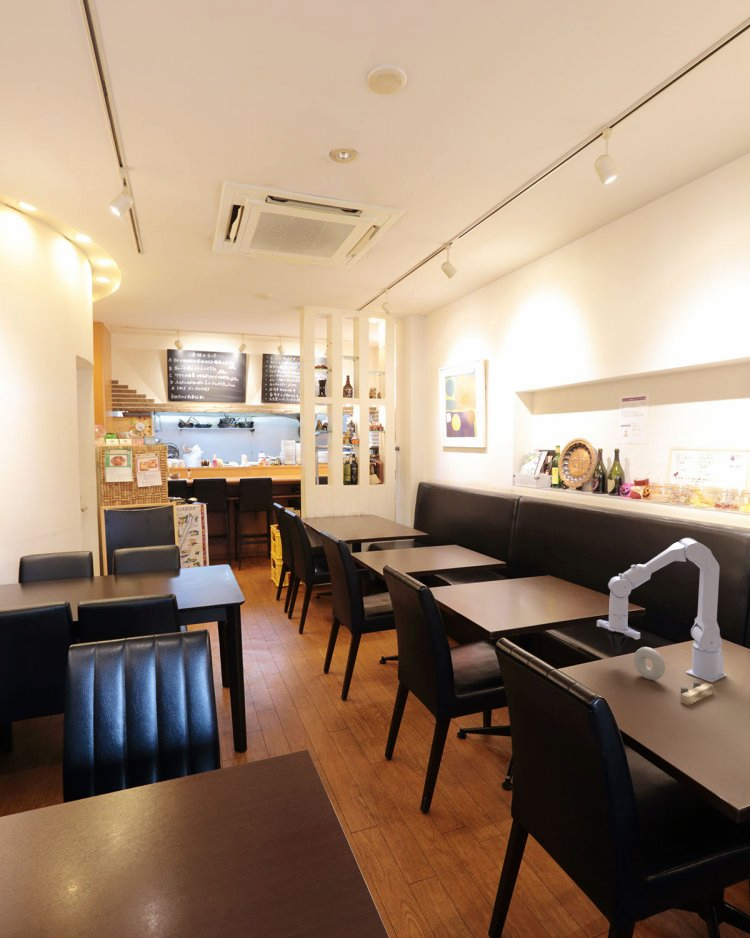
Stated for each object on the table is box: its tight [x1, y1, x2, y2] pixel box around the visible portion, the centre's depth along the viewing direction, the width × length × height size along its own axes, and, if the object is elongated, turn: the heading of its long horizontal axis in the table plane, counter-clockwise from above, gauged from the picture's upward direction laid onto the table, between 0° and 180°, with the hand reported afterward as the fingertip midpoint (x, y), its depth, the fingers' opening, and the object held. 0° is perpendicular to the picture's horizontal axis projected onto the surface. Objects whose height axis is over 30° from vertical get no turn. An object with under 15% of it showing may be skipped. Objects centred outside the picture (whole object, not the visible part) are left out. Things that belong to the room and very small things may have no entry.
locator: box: [680, 680, 714, 706], centre depth 154 cm, size 14×4×3 cm, turn 122°
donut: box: [633, 646, 666, 681], centre depth 165 cm, size 10×3×10 cm, turn 28°
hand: (616, 653), depth 175 cm, fingers closed
